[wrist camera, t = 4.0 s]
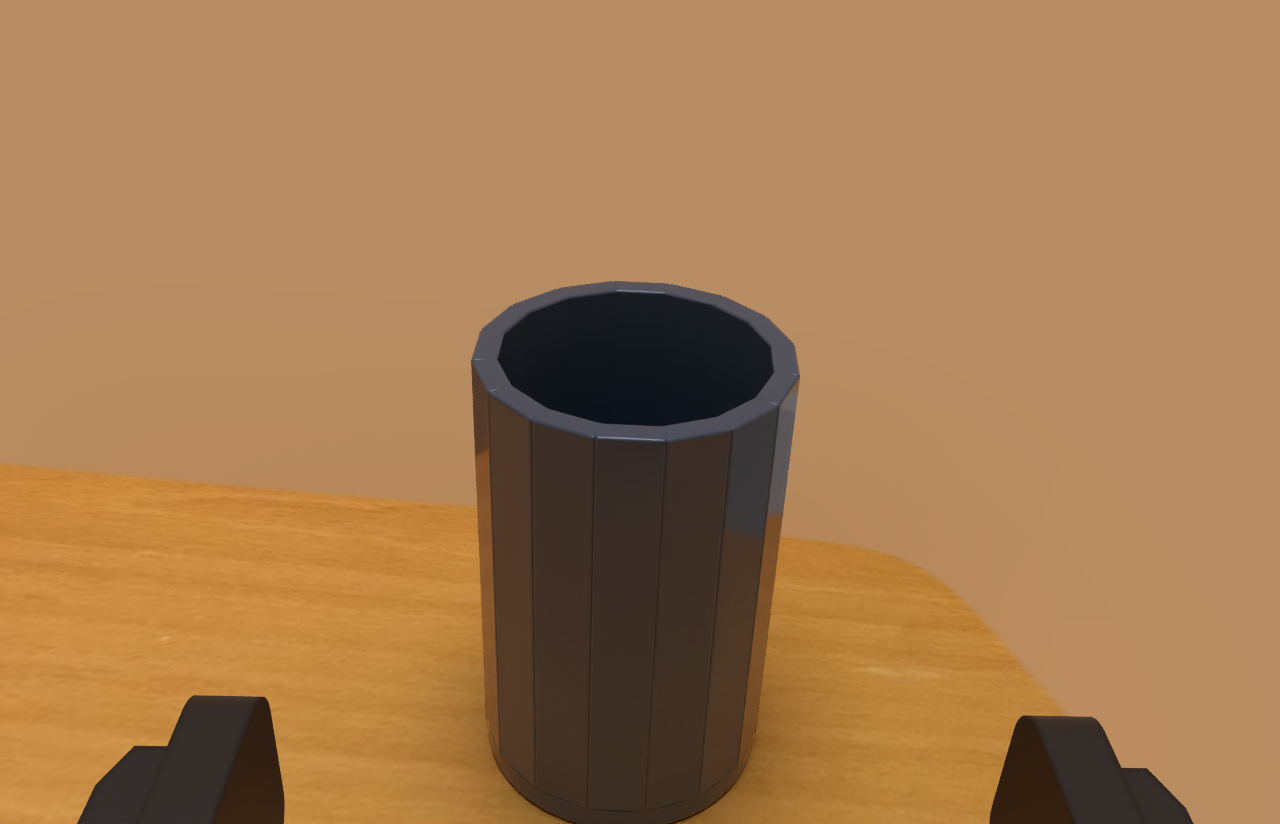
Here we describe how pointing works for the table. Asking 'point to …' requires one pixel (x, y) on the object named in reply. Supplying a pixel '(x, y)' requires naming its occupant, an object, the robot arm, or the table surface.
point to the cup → (628, 542)
